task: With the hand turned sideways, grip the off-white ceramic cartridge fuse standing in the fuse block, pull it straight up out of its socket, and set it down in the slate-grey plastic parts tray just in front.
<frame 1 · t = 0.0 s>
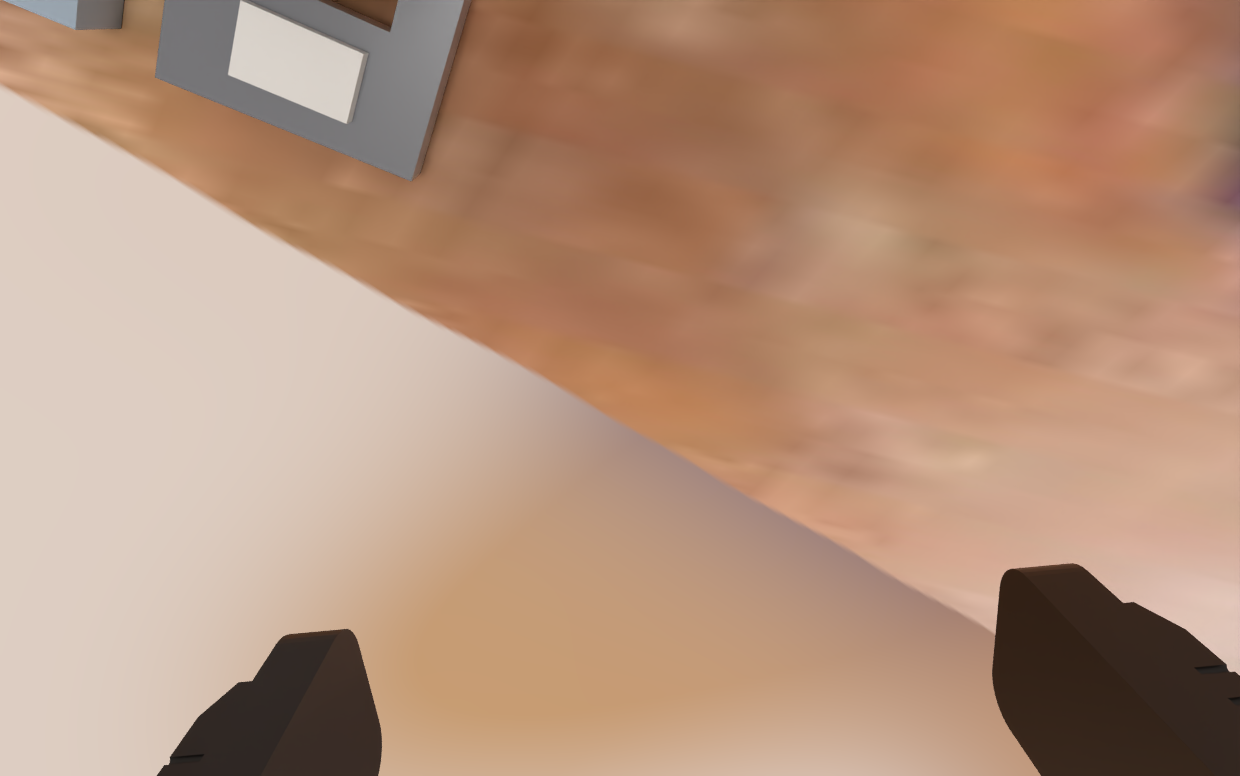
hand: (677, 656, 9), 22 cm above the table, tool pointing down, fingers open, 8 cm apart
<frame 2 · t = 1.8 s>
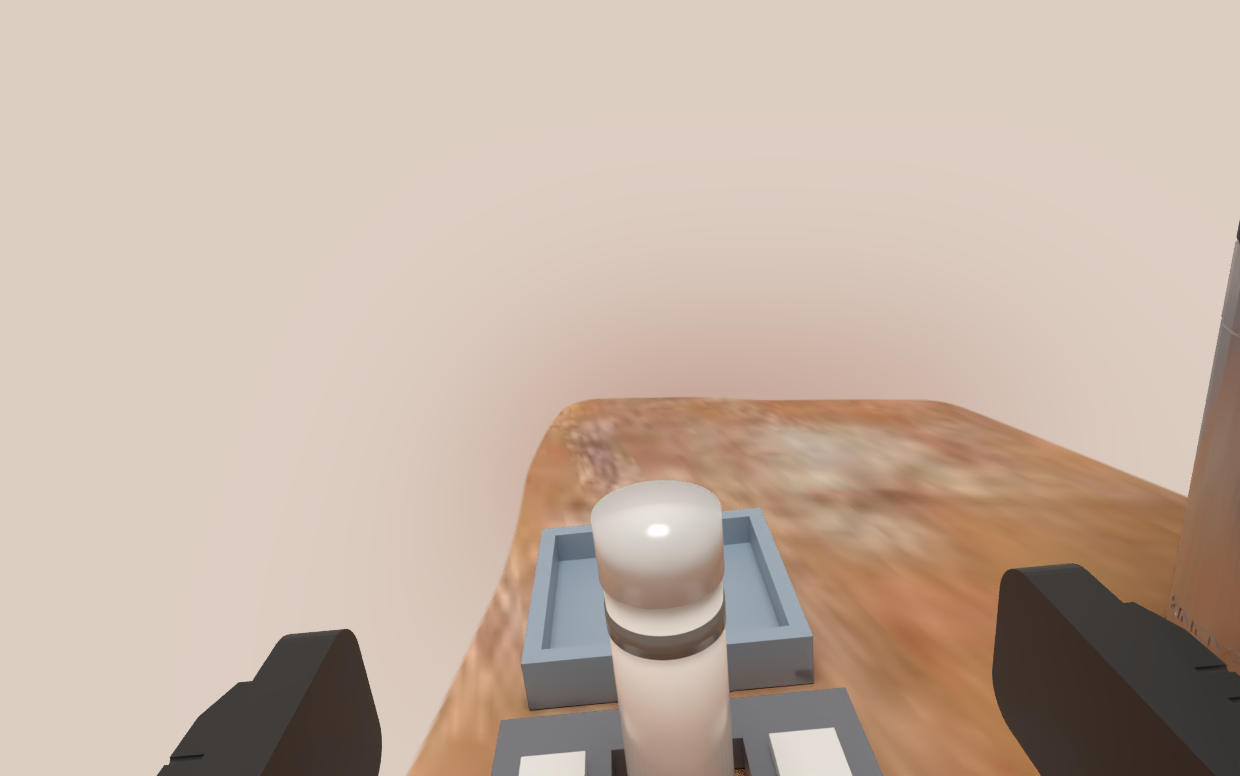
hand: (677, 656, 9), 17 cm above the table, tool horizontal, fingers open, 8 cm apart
parts tray: (661, 616, 37), on the table
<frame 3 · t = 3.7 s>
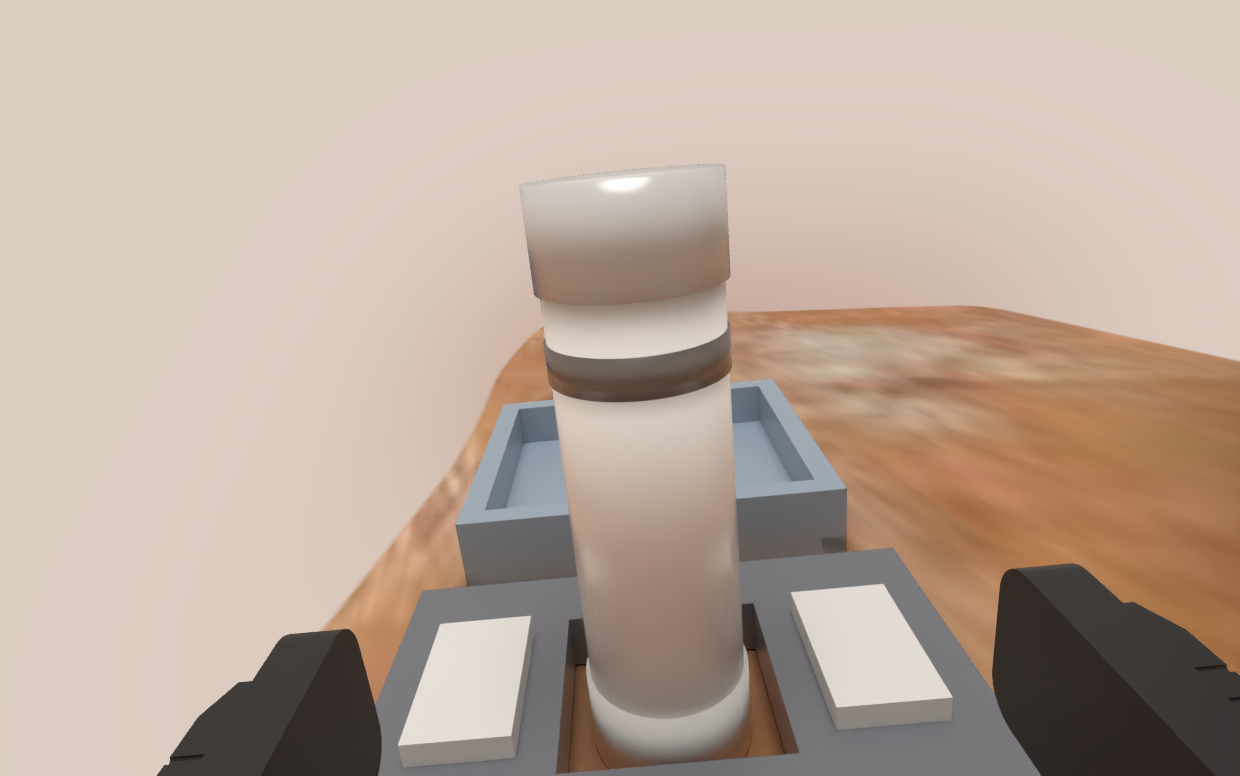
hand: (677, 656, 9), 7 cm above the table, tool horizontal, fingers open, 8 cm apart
parts tray: (648, 495, 29), on the table
fuse: (672, 726, 18), resting in fuse block
fuse block: (672, 726, 18), on the table
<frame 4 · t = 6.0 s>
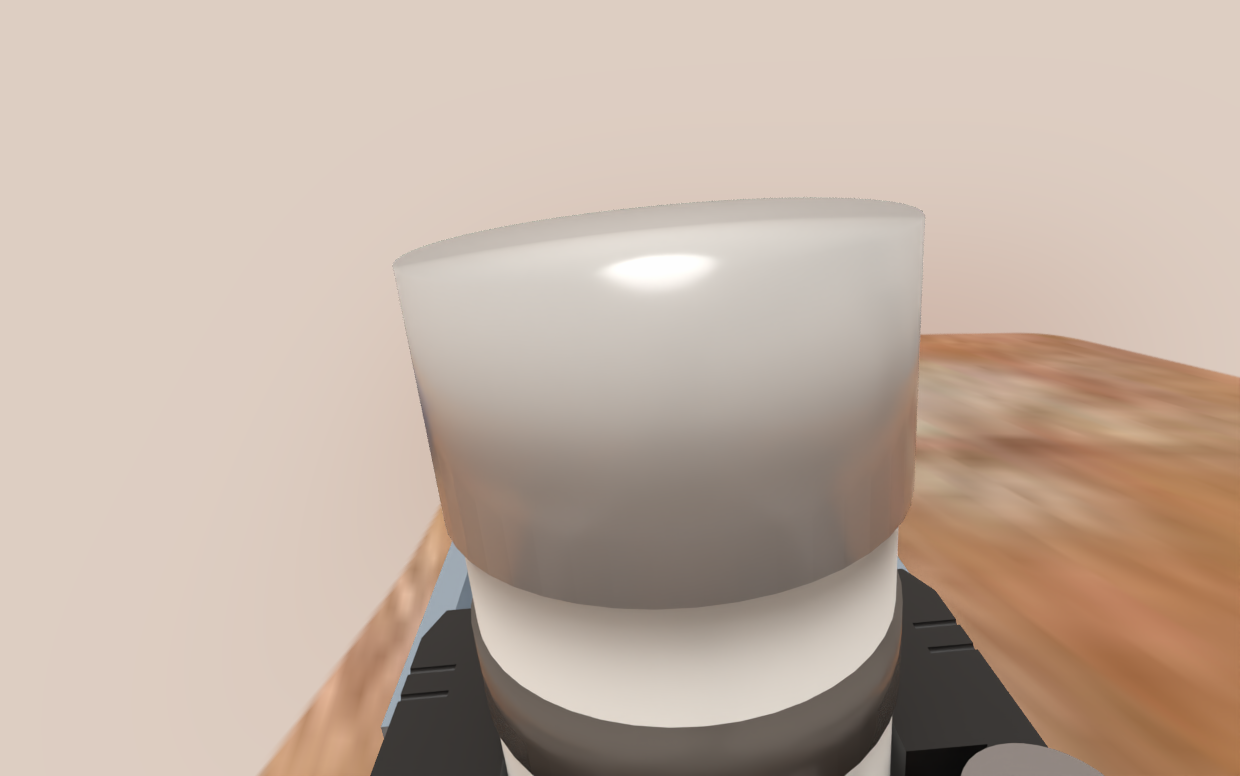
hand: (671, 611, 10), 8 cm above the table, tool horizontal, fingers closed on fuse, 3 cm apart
parts tray: (666, 628, 21), on the table
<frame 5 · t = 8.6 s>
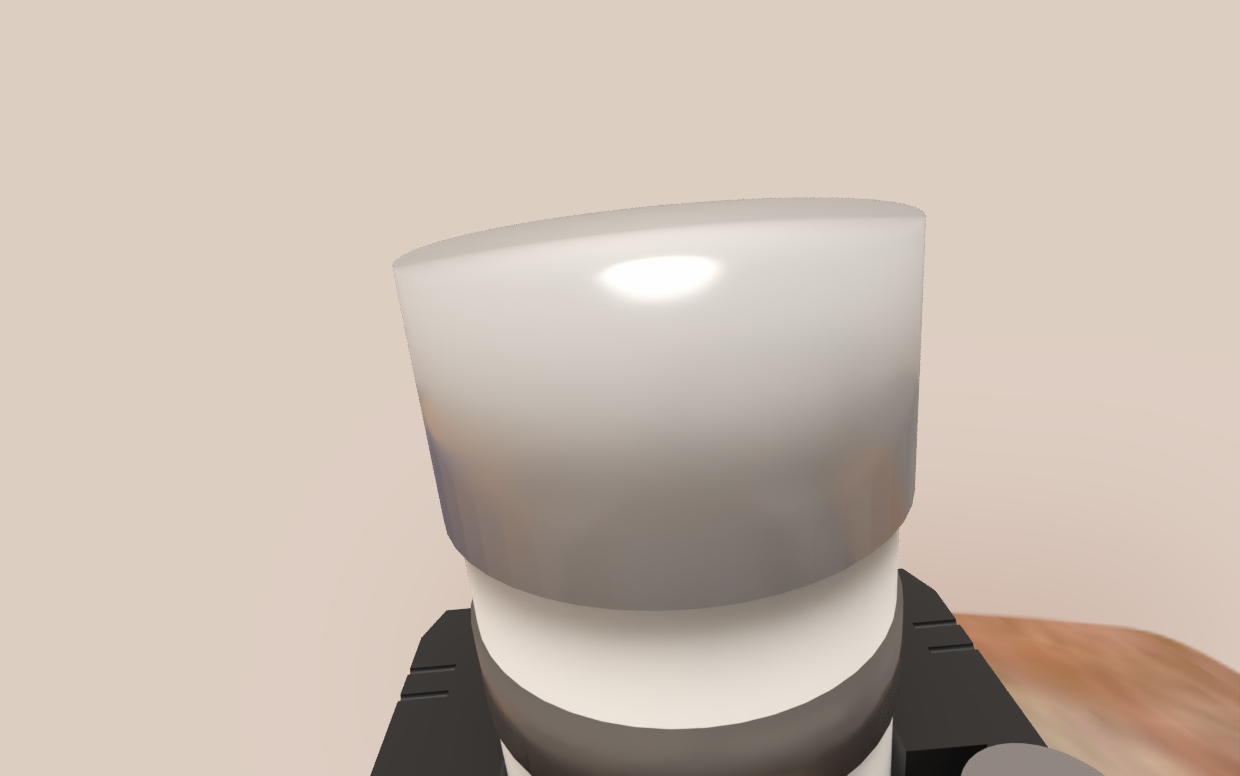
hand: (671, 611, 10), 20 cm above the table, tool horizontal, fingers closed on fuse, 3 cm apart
when the fingers open (9 cm above the table, at t = 11.3 s): fuse drops 1 cm, resting on parts tray.
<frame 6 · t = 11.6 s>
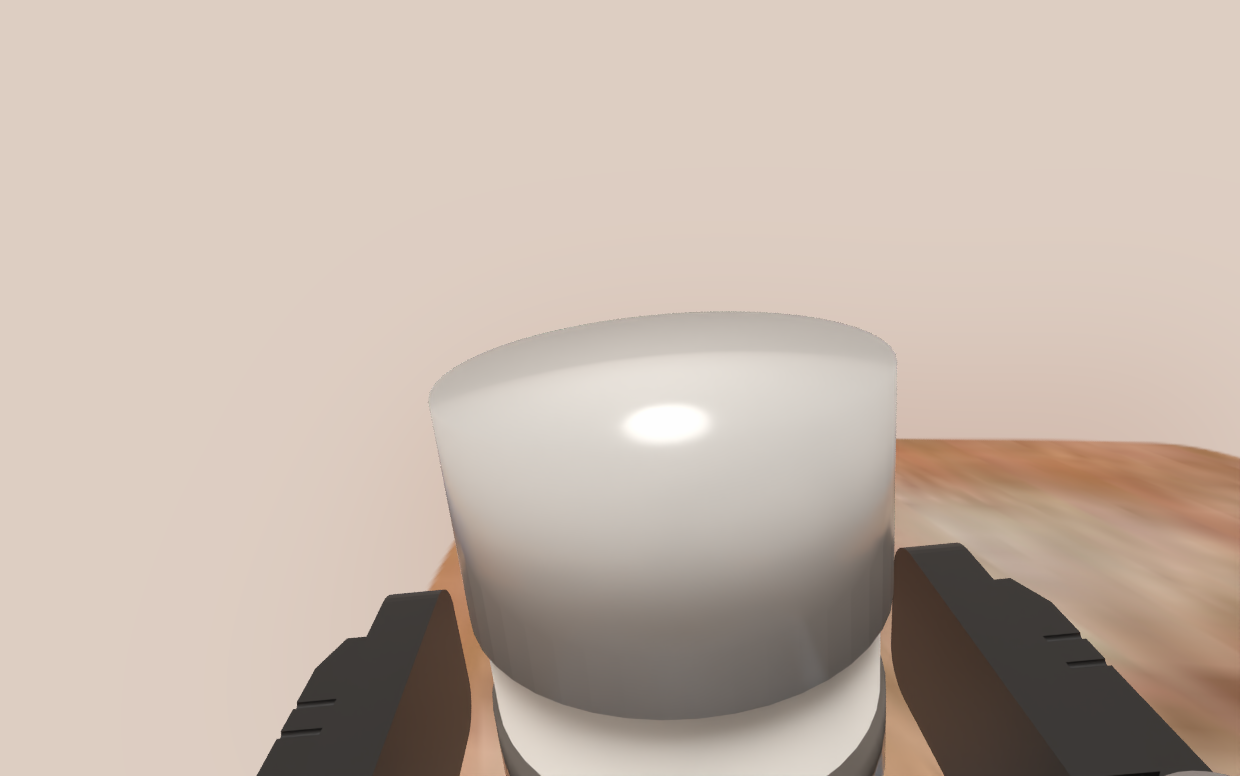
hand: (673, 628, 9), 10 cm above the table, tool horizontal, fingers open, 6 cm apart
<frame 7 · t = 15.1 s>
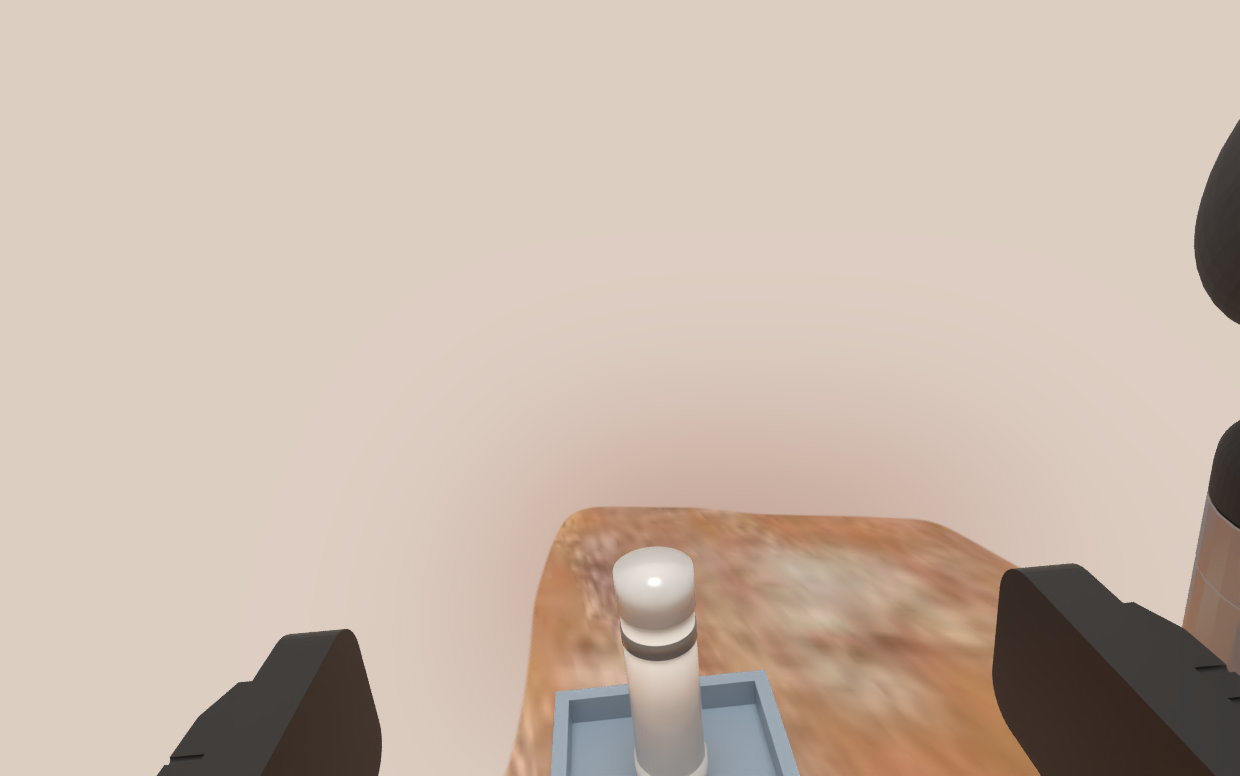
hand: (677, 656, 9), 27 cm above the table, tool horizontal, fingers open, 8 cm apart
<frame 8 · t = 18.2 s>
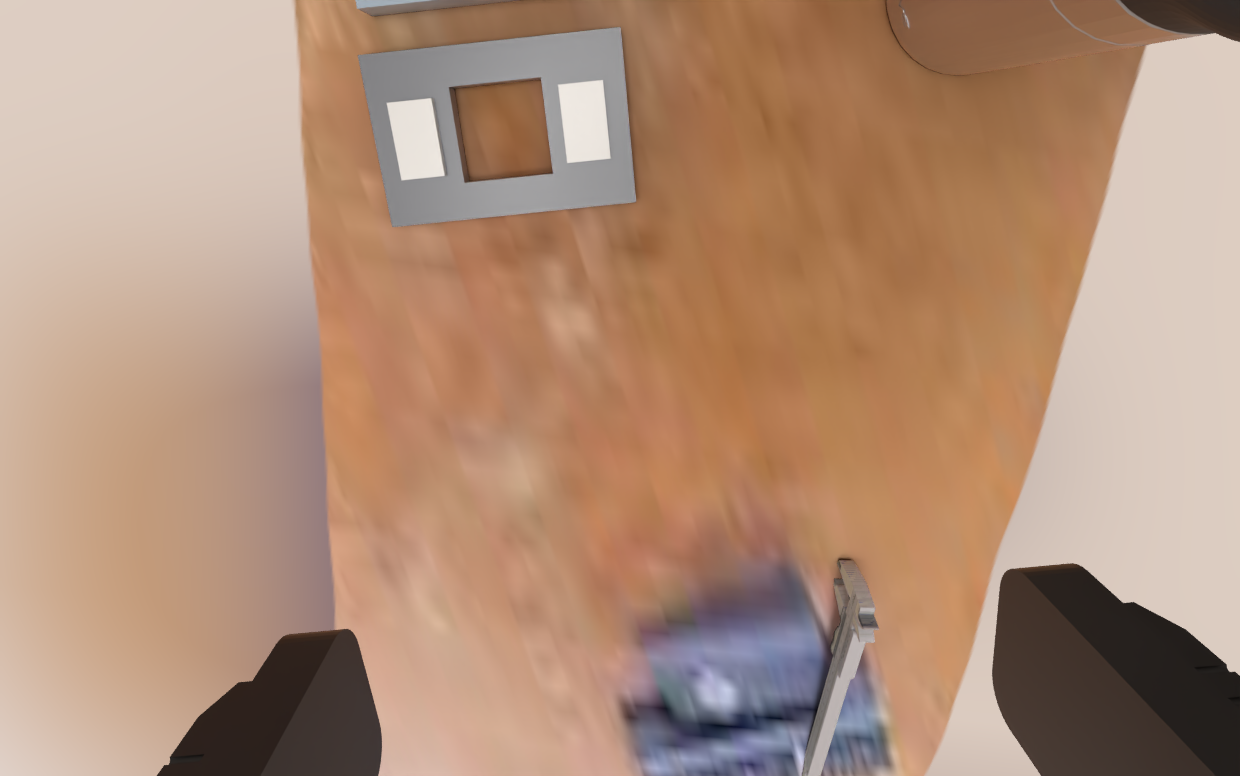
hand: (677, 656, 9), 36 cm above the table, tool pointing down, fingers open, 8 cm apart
caliper: (823, 670, 54), on the table
fuse block: (505, 131, 41), on the table
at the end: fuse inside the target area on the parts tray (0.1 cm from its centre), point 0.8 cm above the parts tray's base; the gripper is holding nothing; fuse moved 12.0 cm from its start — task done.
